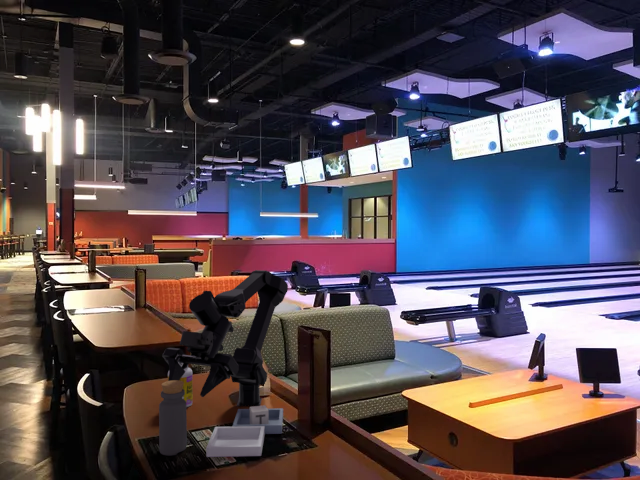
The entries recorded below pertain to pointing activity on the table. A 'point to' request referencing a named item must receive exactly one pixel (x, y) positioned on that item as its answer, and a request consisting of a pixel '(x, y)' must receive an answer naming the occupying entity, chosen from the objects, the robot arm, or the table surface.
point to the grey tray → (236, 441)
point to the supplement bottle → (187, 386)
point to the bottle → (172, 418)
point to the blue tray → (271, 428)
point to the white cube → (259, 415)
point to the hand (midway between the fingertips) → (184, 393)
